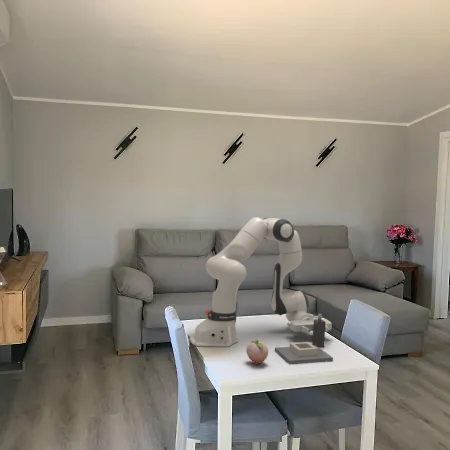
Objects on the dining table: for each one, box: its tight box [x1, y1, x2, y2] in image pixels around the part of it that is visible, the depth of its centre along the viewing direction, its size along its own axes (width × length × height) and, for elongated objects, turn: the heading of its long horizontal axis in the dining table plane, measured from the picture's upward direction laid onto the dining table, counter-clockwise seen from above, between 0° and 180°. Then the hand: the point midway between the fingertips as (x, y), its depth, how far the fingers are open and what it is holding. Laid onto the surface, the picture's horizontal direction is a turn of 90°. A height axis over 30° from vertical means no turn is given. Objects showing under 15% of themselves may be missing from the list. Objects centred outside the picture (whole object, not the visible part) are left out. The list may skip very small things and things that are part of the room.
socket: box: [274, 341, 334, 365], centre depth 202 cm, size 20×16×4 cm
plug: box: [311, 313, 326, 348], centre depth 216 cm, size 4×4×15 cm
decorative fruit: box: [245, 339, 269, 365], centre depth 191 cm, size 9×8×10 cm
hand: (318, 330), depth 217 cm, fingers open, 8 cm apart
